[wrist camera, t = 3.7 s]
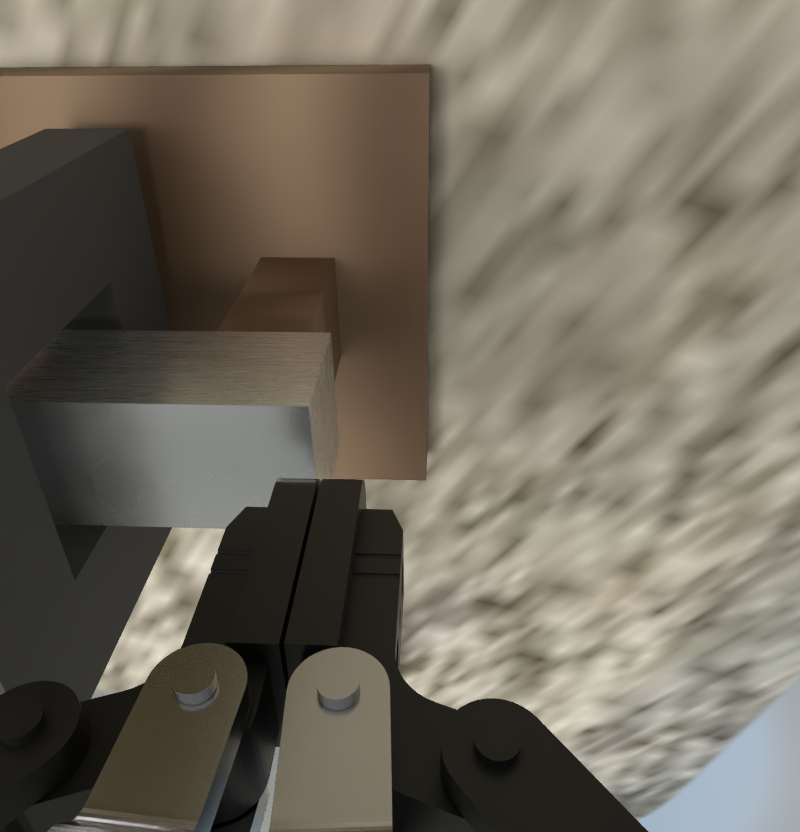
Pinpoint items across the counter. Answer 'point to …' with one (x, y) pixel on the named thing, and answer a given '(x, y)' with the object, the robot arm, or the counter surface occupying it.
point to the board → (280, 215)
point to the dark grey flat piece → (18, 344)
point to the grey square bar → (174, 422)
